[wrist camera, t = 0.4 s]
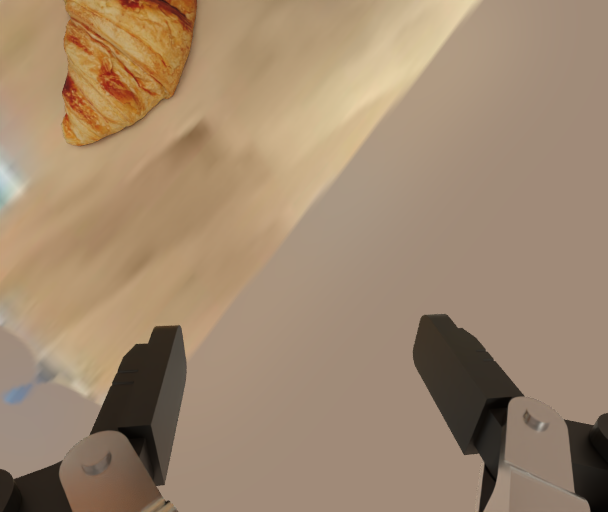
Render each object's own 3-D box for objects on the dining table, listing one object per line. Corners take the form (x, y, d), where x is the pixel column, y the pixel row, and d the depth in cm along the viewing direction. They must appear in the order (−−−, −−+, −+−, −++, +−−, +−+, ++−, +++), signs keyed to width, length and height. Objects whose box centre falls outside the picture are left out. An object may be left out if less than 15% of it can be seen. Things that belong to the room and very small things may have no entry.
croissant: (117, 161, 39) (135, 186, 33) (3, 104, 31) (2, 124, 26) (220, -20, 36) (257, -24, 31) (121, -128, 29) (148, -158, 23)
